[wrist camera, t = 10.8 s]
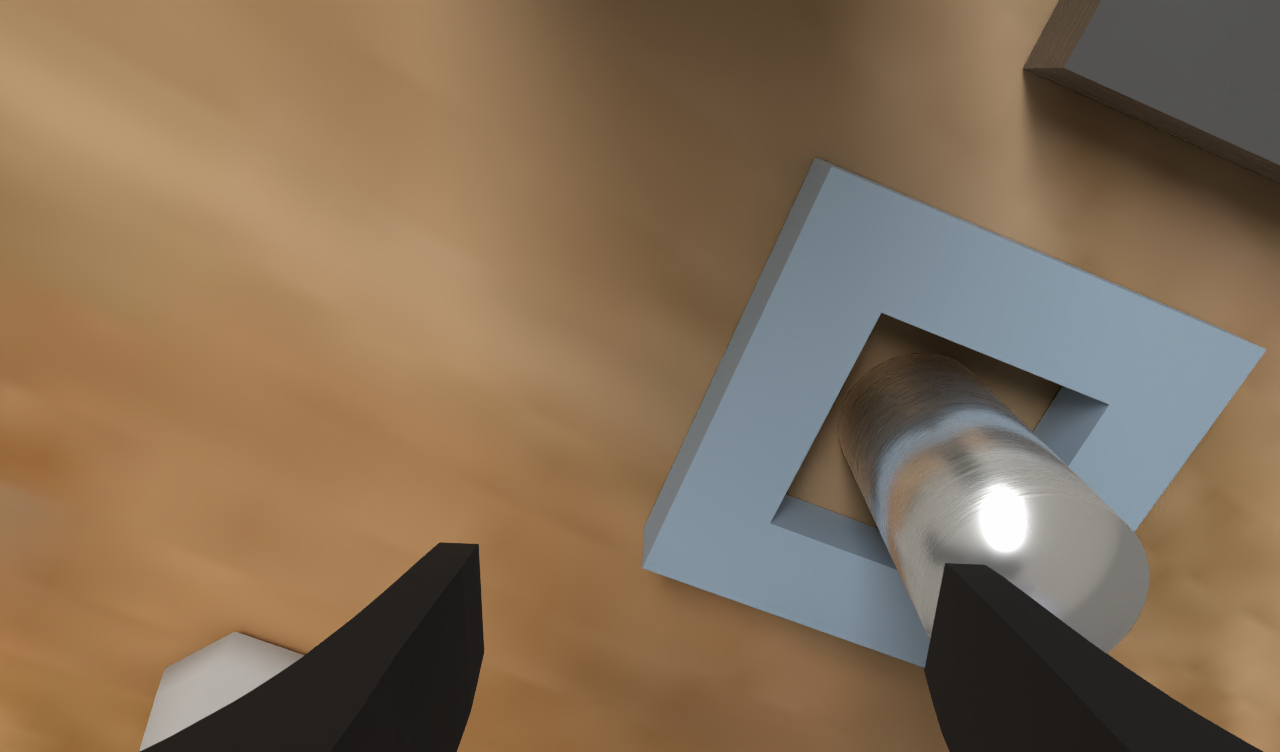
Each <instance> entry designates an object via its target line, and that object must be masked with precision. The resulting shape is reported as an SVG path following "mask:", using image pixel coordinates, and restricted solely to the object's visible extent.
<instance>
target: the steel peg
mask: <svg viewBox="0 0 1280 752" xmlns="http://www.w3.org/2000/svg"><path fill="white" fill-rule="evenodd" d="M838 436H839V442H840V445H841V448H842V451H843V454H844V456H845V458H846V460H847V462H848V464H849V467H850V469H851V471H852V473H853V475H854V477H855V479H856V482H857V484H858V486H859V488H860V490H861V492H862V495H863V497H864V499H865V501H866V503H867V505H868V508H869V510H870V512H871V514H872V516H873V518H874V521H875V523H876V525H877V527H878V529H879V531H880V534H881V536H882V538H883V540H884V542H885V544H886V546H887V549H888V551H889V553H890V555H891V557H892V559H893V562H894V564H895V566H896V568H897V570H898V572H899V575H900V577H901V579H902V581H903V583H904V585H905V588H906V590H907V592H908V594H909V596H910V598H911V601H912V603H913V605H914V607H915V609H916V611H917V613H918V616H919V618H920V620H921V622H922V624H923V626H924V629H925V631H926V633H927V635H928V637H929V639H930V638H931V633H932V628H933V623H934V618H935V612H936V607H937V602H938V597H939V592H940V587H941V581H942V576H943V571H944V566H945V563H956V564H981V565H986V566H988V567H990V568H991V569H993V570H994V571H996V572H997V573H998V574H1000V575H1001V576H1003V577H1004V578H1006V579H1007V580H1008V581H1010V582H1011V583H1012V584H1014V585H1015V586H1016V587H1018V588H1019V589H1020V590H1022V591H1023V592H1024V593H1026V594H1027V595H1028V596H1030V597H1031V598H1032V599H1034V600H1035V601H1036V602H1038V603H1039V604H1040V605H1042V606H1043V607H1044V608H1046V609H1047V610H1048V611H1050V612H1051V613H1052V614H1054V615H1055V616H1056V617H1058V618H1059V619H1060V620H1062V621H1063V622H1064V623H1066V624H1067V625H1068V626H1070V627H1071V628H1072V629H1074V630H1075V631H1076V632H1078V633H1079V634H1080V635H1082V636H1083V637H1084V638H1086V639H1087V640H1088V641H1090V642H1091V643H1093V644H1094V645H1095V646H1097V647H1098V648H1099V649H1101V650H1102V651H1104V652H1105V653H1106V654H1107V653H1108V652H1109V651H1110V650H1112V649H1113V648H1114V647H1115V646H1116V645H1117V644H1118V643H1119V642H1120V641H1121V640H1122V639H1123V638H1124V637H1125V636H1126V634H1127V633H1128V632H1129V631H1130V630H1131V628H1132V627H1133V625H1134V624H1135V622H1136V620H1137V619H1138V617H1139V615H1140V613H1141V611H1142V609H1143V606H1144V604H1145V600H1146V597H1147V594H1148V587H1149V566H1148V561H1147V556H1146V554H1145V551H1144V548H1143V546H1142V544H1141V542H1140V541H1139V539H1138V537H1137V536H1136V534H1135V533H1134V532H1133V531H1132V529H1131V528H1130V527H1129V526H1128V525H1127V524H1126V523H1125V522H1124V521H1123V520H1122V519H1121V518H1120V517H1119V516H1118V515H1117V514H1116V513H1115V512H1114V511H1113V510H1112V509H1111V508H1110V507H1109V506H1108V505H1107V504H1106V503H1105V502H1104V501H1103V500H1102V499H1101V498H1100V497H1099V496H1098V495H1097V494H1096V493H1095V492H1094V491H1093V490H1092V489H1091V488H1090V487H1089V486H1087V485H1086V484H1085V483H1084V482H1083V481H1082V480H1081V479H1080V478H1079V477H1078V476H1077V475H1076V474H1075V473H1074V472H1073V471H1072V470H1071V469H1070V468H1069V467H1068V466H1067V465H1066V464H1065V463H1064V462H1063V461H1062V460H1061V459H1060V458H1059V457H1058V456H1057V455H1056V454H1055V453H1054V452H1053V451H1052V450H1051V449H1050V448H1049V447H1048V446H1047V445H1046V444H1045V443H1044V442H1043V441H1042V440H1041V439H1040V438H1039V437H1038V436H1037V435H1036V434H1035V433H1034V432H1033V431H1032V430H1031V429H1030V428H1029V427H1027V426H1026V425H1025V424H1024V423H1023V422H1022V421H1021V420H1020V419H1019V418H1018V417H1017V416H1016V415H1015V414H1014V413H1013V412H1012V411H1011V410H1010V409H1009V408H1008V407H1007V406H1006V405H1005V404H1004V403H1003V402H1002V401H1001V400H1000V399H999V398H998V397H997V396H996V395H995V394H994V393H993V392H992V391H991V390H990V389H989V388H988V387H987V386H986V385H985V384H984V383H983V382H982V381H981V380H980V379H979V378H978V377H977V376H976V375H975V374H974V373H973V372H971V371H970V370H969V369H968V368H967V367H965V366H964V365H962V364H961V363H959V362H957V361H955V360H953V359H951V358H948V357H945V356H942V355H937V354H931V353H914V354H907V355H902V356H898V357H895V358H892V359H889V360H887V361H885V362H883V363H881V364H879V365H877V366H876V367H874V368H872V369H871V370H870V371H868V372H867V373H866V374H865V375H863V376H862V377H861V378H860V379H859V380H858V381H857V382H856V383H855V385H854V386H853V387H852V389H851V390H850V391H849V393H848V395H847V397H846V398H845V400H844V403H843V405H842V408H841V411H840V415H839V421H838Z"/></svg>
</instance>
